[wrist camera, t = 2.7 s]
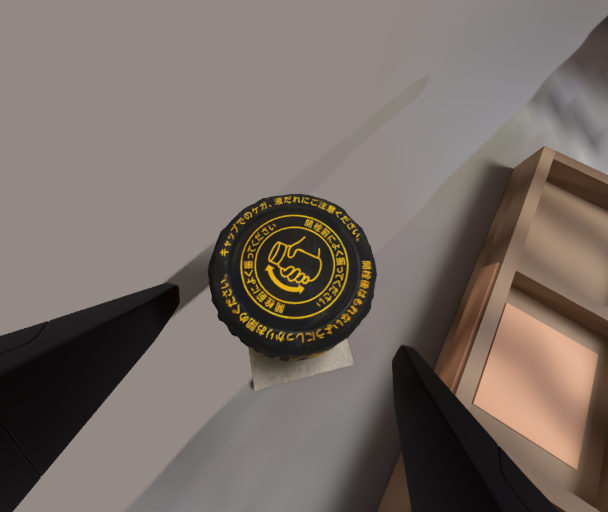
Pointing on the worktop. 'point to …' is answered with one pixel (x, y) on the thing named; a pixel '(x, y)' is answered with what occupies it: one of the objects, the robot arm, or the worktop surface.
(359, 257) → the condiment
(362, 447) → the worktop surface
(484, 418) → the tray
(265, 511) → the worktop surface
